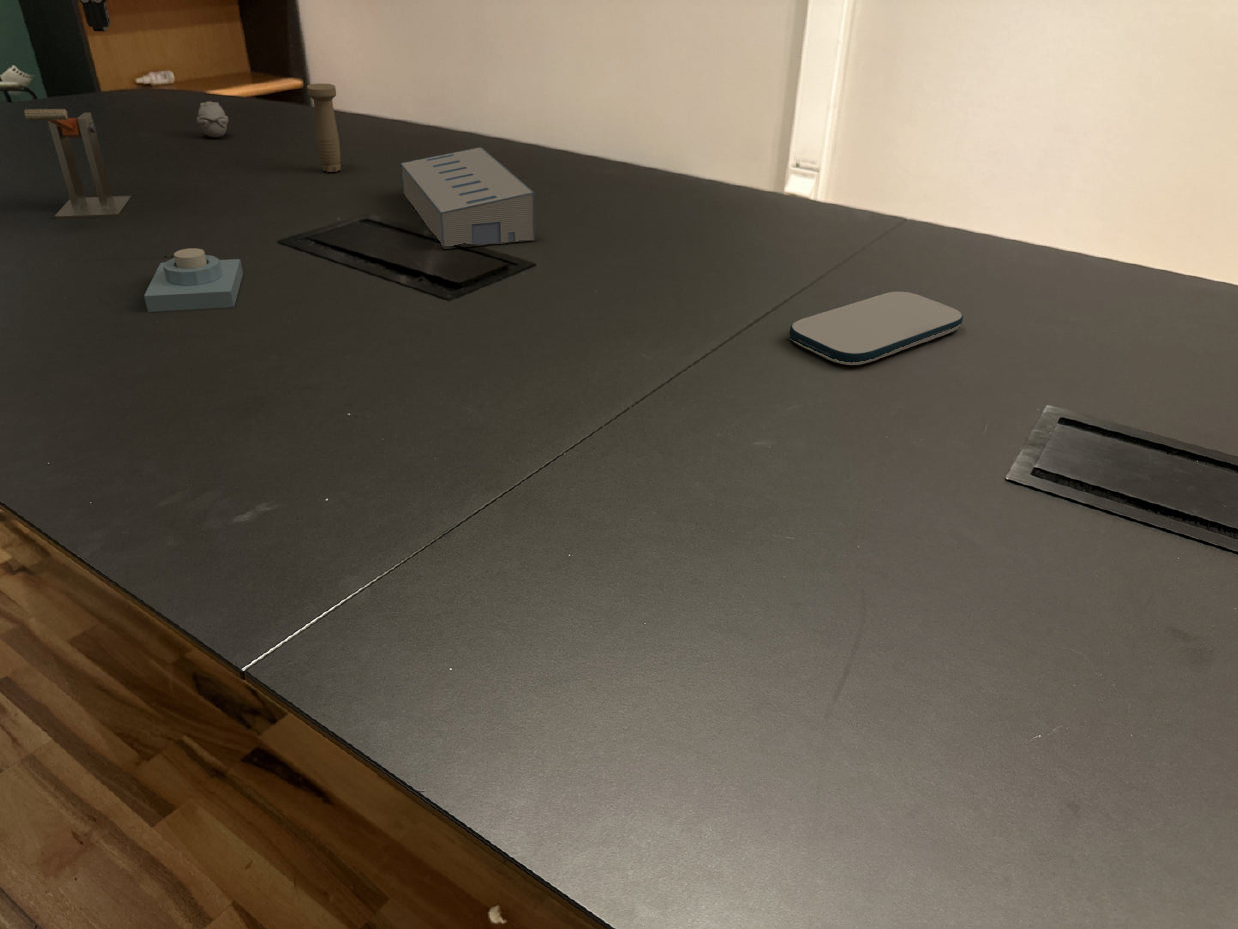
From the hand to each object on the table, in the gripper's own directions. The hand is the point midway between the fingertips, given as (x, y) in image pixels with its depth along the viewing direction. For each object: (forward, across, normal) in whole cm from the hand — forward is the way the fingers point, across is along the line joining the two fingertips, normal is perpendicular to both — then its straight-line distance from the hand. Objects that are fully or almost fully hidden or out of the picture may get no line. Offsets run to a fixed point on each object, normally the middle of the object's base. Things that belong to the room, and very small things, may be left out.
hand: (100, 30), depth 132 cm
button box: (+26, +14, -39) cm, 49 cm away
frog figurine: (+26, +4, +52) cm, 58 cm away
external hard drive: (+26, +97, -65) cm, 120 cm away
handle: (+26, +29, +21) cm, 44 cm away
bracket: (+26, -7, -1) cm, 27 cm away
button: (+23, +14, -39) cm, 47 cm away
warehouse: (+26, +51, -10) cm, 58 cm away
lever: (+13, -7, -7) cm, 16 cm away
